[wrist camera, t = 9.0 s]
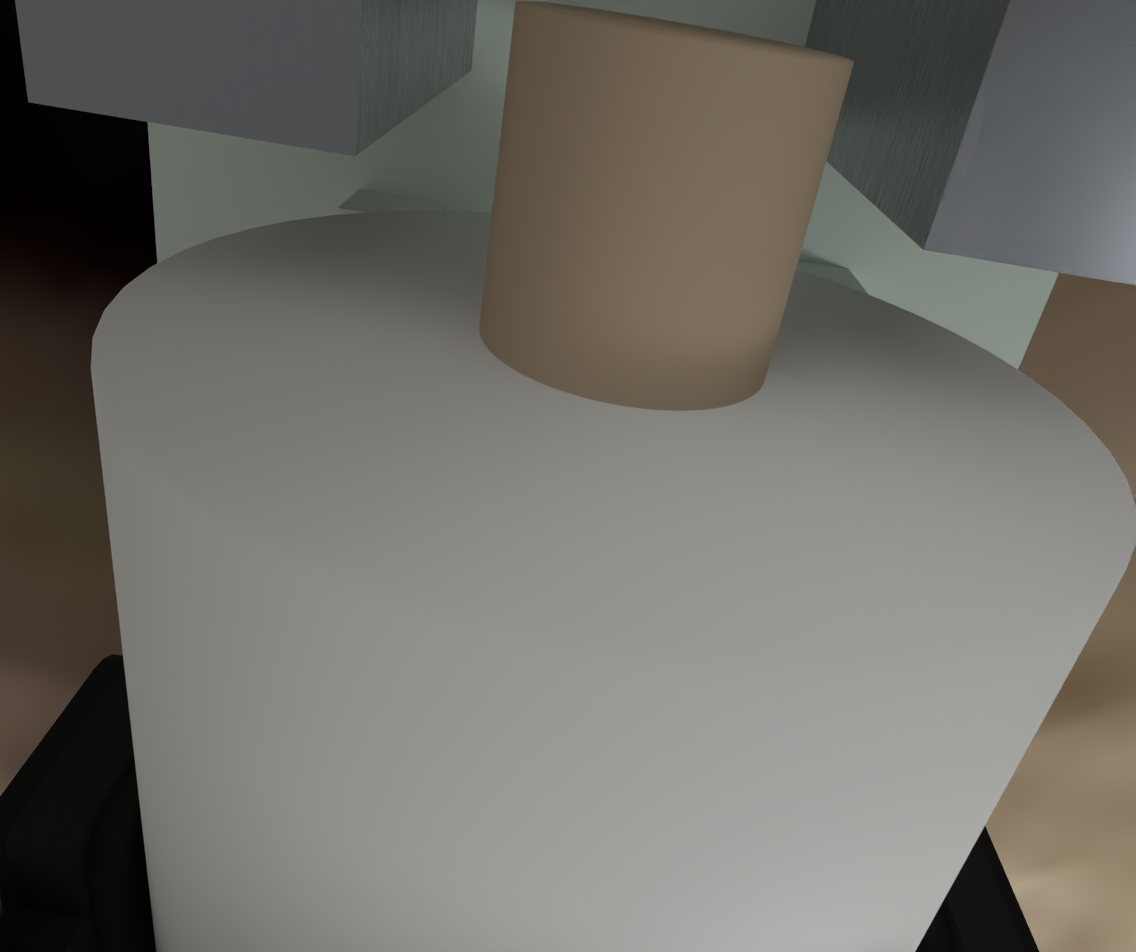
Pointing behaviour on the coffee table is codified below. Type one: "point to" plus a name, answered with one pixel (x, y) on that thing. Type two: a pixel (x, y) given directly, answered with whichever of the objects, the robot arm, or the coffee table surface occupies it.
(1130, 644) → the coffee table surface
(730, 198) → the paper roll
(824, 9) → the roll holder
